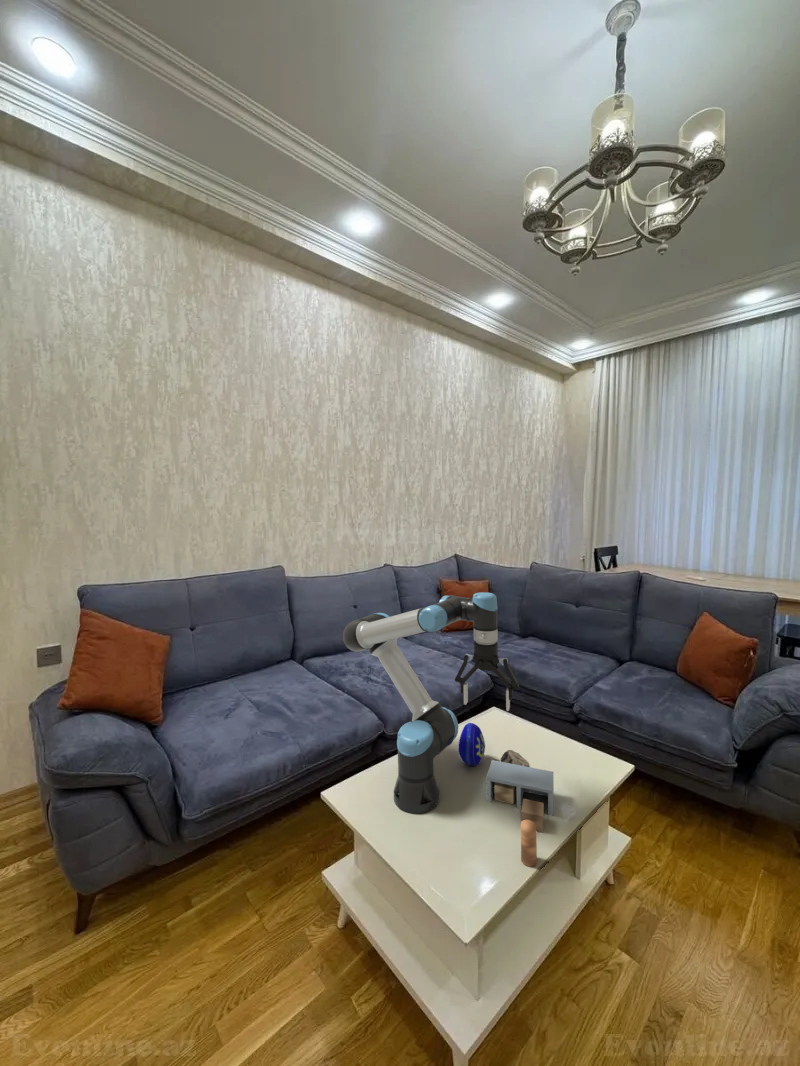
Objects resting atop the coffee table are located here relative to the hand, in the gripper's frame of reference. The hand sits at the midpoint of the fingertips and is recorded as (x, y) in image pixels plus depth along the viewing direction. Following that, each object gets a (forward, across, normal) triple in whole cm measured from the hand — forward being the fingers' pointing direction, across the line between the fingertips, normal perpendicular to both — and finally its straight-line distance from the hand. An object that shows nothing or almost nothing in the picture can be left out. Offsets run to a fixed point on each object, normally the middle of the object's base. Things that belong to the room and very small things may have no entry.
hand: (486, 705), depth 139 cm
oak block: (+31, +5, +2) cm, 31 cm away
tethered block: (+31, +15, -14) cm, 37 cm away
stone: (+31, +7, +15) cm, 35 cm away
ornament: (+31, -9, +17) cm, 36 cm away
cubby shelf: (+31, +10, +3) cm, 32 cm away
